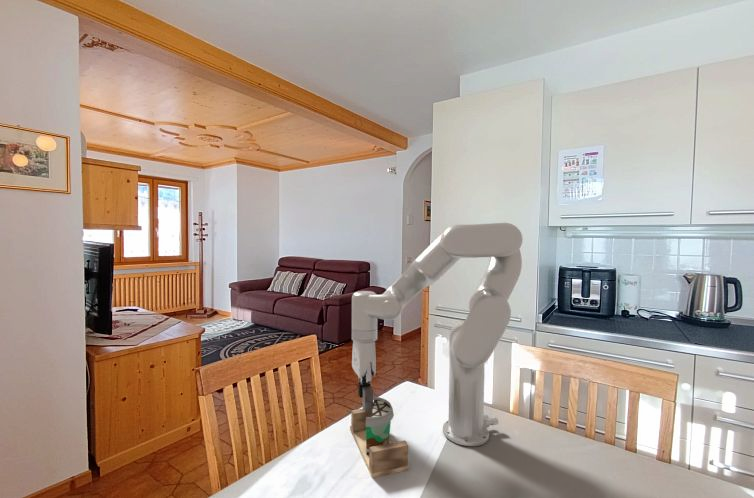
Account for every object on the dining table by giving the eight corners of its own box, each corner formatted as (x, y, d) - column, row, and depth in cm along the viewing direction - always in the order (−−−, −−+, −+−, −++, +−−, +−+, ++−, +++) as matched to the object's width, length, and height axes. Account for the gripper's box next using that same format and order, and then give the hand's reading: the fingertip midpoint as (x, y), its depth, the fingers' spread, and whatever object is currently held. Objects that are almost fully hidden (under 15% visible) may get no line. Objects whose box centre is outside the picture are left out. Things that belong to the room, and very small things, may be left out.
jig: (379, 424, 102) (380, 404, 102) (408, 470, 82) (408, 445, 82) (350, 429, 99) (350, 408, 99) (371, 477, 79) (372, 452, 79)
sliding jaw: (381, 422, 101) (381, 385, 101) (384, 426, 99) (384, 388, 98) (351, 427, 98) (351, 388, 98) (353, 431, 96) (353, 392, 96)
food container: (390, 461, 84) (390, 420, 83) (365, 458, 85) (365, 418, 84) (395, 433, 96) (396, 397, 96) (373, 431, 97) (374, 395, 97)
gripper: (346, 328, 107) (346, 387, 108) (358, 342, 93) (358, 409, 94) (369, 326, 110) (369, 384, 110) (385, 340, 95) (384, 406, 96)
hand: (364, 395), depth 102 cm, fingers closed
